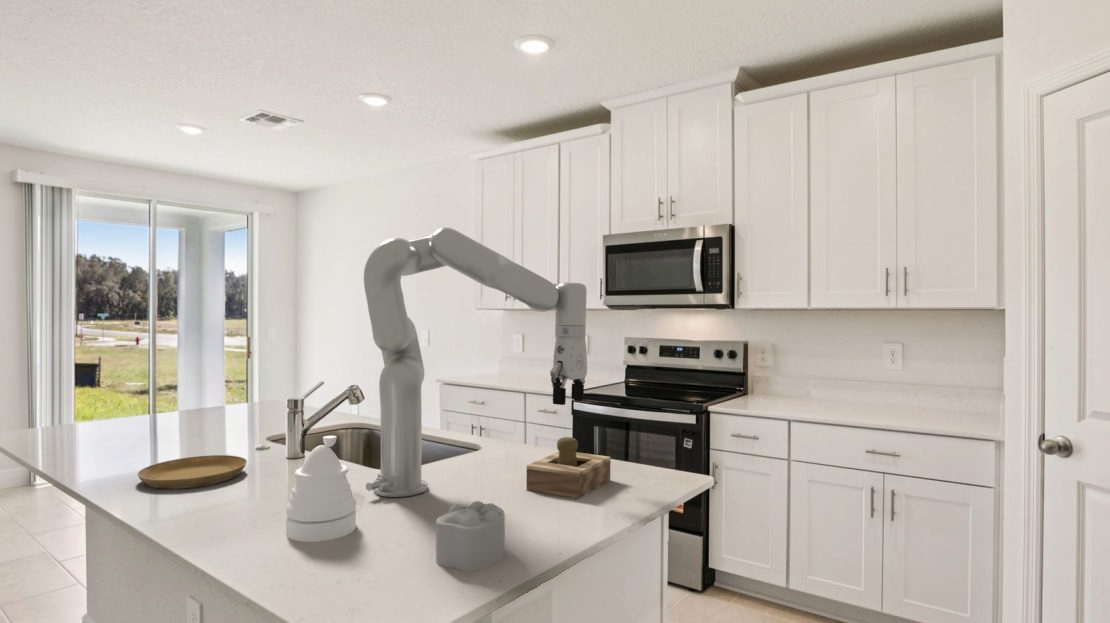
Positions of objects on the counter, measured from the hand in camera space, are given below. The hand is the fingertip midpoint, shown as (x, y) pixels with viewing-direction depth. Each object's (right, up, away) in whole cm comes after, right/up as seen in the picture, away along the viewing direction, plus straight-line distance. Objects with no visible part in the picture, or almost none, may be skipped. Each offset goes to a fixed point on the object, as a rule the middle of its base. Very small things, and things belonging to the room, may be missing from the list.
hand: (568, 402), depth 157 cm
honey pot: (-49, -21, -32) cm, 62 cm away
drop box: (0, -21, 0) cm, 21 cm away
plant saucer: (-95, -21, +5) cm, 98 cm away
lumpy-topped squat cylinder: (-18, -21, -44) cm, 52 cm away
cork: (0, -20, 0) cm, 20 cm away
